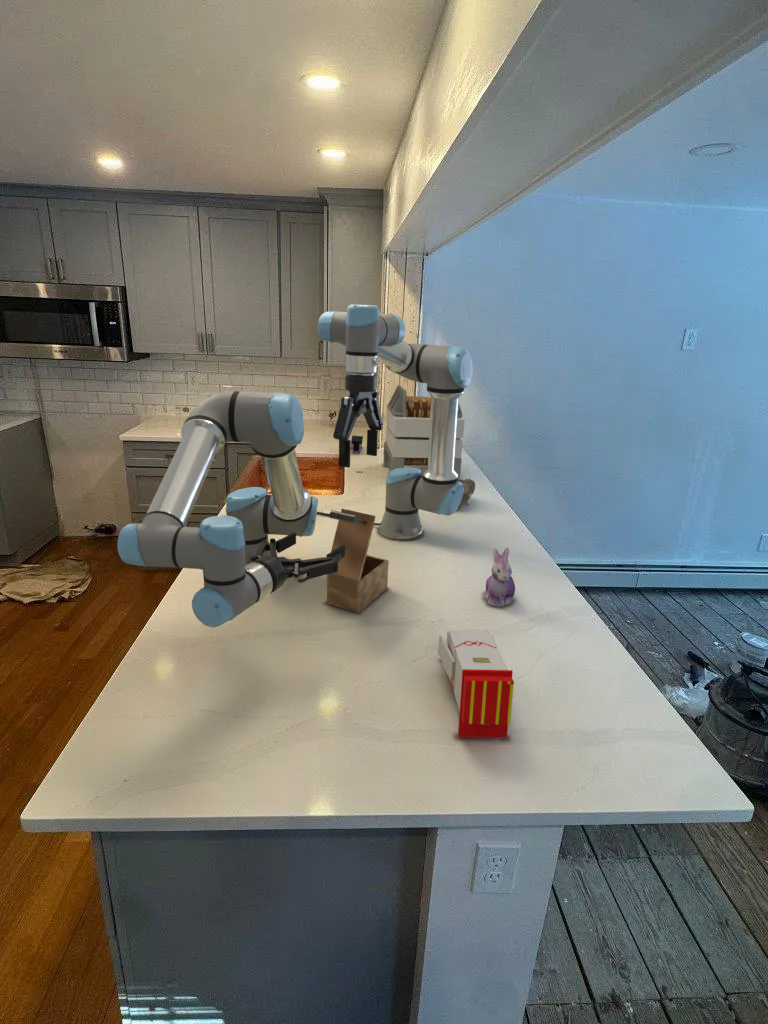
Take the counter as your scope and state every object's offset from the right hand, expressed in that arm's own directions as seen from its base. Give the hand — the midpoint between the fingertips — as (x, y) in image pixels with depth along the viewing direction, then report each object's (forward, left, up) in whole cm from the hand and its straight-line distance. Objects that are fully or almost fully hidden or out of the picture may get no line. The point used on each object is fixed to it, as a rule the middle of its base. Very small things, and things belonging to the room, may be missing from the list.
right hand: (358, 460), depth 141 cm
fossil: (-39, +84, -39) cm, 100 cm away
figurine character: (-131, +103, -39) cm, 171 cm away
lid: (+1, -2, -22) cm, 22 cm away
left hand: (+6, -16, -16) cm, 24 cm away
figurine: (+24, +32, -39) cm, 56 cm away
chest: (-1, +2, -39) cm, 39 cm away
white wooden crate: (-80, +102, -39) cm, 136 cm away
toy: (+46, -5, -39) cm, 60 cm away
